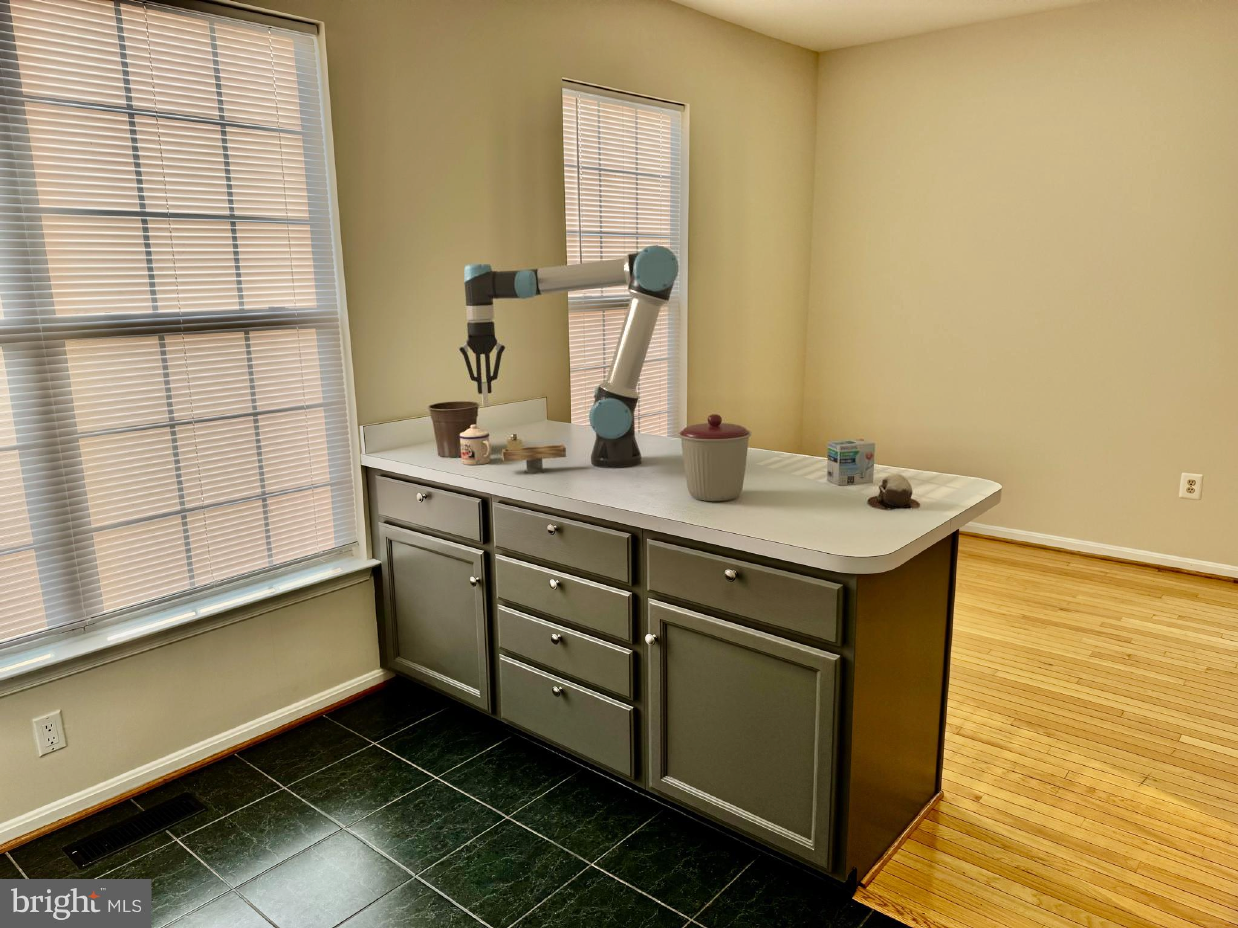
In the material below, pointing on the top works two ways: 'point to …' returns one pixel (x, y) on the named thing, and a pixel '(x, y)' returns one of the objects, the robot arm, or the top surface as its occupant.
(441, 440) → the plant pot
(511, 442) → the rider
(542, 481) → the top surface
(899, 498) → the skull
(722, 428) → the canister
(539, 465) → the beam
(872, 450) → the light bulb box
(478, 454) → the teacup with lid
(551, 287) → the robot arm
